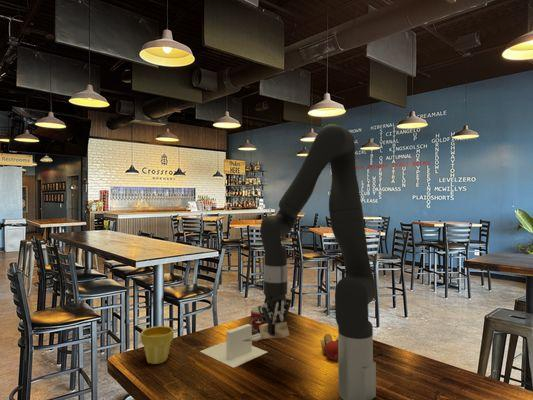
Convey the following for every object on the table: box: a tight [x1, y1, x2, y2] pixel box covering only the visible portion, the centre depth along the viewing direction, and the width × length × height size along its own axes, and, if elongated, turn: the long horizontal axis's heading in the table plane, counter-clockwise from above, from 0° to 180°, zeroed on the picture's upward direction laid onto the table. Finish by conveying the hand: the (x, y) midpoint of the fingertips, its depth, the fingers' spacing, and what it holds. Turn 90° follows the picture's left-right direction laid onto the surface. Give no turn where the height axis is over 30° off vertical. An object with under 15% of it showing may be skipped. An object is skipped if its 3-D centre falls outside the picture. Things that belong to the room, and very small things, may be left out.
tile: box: [225, 323, 253, 360], centre depth 125 cm, size 2×10×9 cm, turn 136°
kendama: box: [320, 333, 338, 361], centre depth 129 cm, size 8×6×18 cm
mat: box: [199, 341, 268, 368], centre depth 128 cm, size 18×16×1 cm
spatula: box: [242, 321, 290, 342], centre depth 117 cm, size 17×7×4 cm, turn 46°
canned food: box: [250, 306, 269, 341], centre depth 142 cm, size 8×8×11 cm
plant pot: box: [140, 325, 174, 365], centre depth 123 cm, size 10×10×10 cm
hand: (275, 333), depth 114 cm, fingers closed on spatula, 2 cm apart
